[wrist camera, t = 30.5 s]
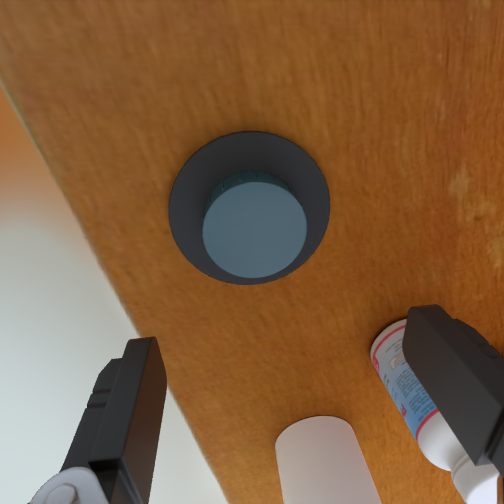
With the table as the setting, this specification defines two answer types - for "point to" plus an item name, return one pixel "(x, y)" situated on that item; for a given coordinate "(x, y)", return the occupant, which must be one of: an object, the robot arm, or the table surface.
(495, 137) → the table surface
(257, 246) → the lid
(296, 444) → the mug
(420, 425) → the pill bottle
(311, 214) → the coaster
